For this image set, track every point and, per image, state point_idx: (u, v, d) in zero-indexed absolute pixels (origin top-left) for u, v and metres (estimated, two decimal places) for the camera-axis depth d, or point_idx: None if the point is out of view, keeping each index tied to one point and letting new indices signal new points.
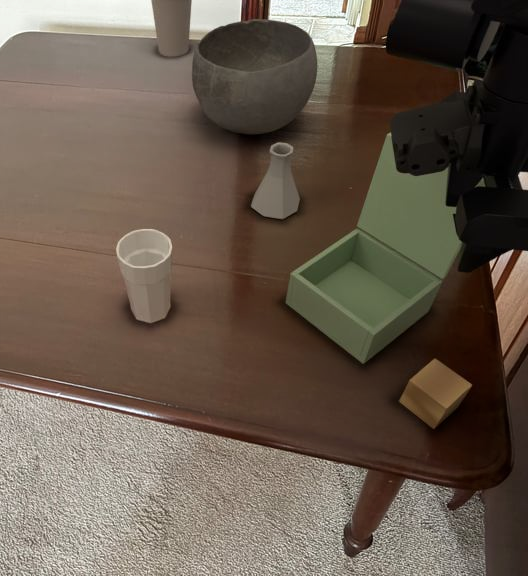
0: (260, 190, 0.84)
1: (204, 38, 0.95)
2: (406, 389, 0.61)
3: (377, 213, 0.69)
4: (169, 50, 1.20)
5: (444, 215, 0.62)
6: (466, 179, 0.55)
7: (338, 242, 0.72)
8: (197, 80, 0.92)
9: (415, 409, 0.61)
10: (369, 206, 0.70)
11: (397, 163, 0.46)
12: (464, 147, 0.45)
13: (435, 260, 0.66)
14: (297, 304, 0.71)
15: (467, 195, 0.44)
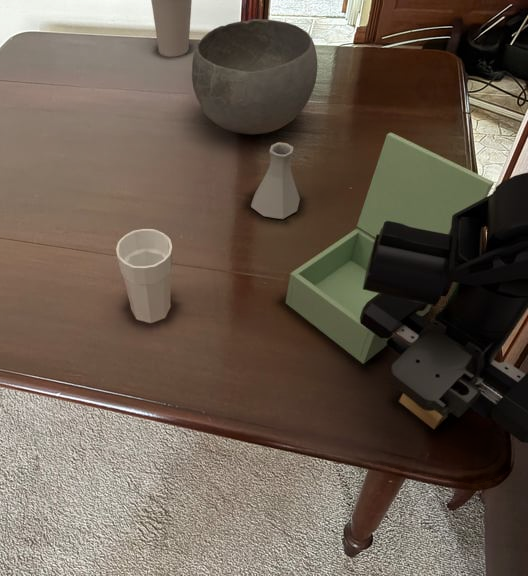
0: (260, 190, 0.84)
1: (204, 38, 0.95)
2: None
3: (377, 213, 0.69)
4: (169, 50, 1.20)
5: (444, 215, 0.62)
6: None
7: (338, 242, 0.72)
8: (197, 79, 0.92)
9: (415, 409, 0.61)
10: (369, 206, 0.70)
11: (443, 415, 0.49)
12: (473, 371, 0.50)
13: None
14: (297, 304, 0.71)
15: (502, 406, 0.50)
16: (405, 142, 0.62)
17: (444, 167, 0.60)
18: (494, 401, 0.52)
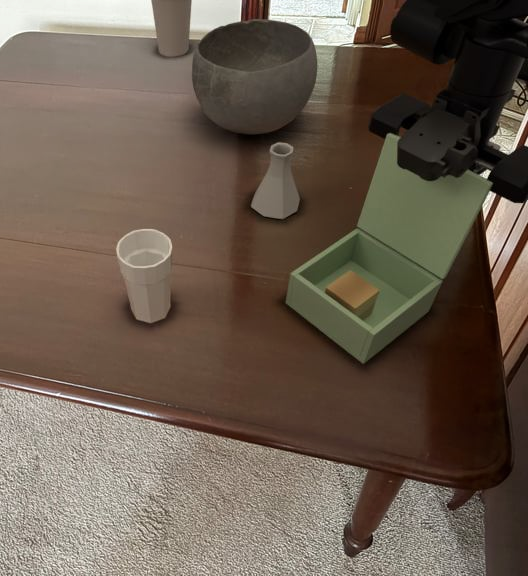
0: (260, 190, 0.84)
1: (204, 38, 0.95)
2: None
3: (377, 213, 0.69)
4: (169, 50, 1.20)
5: (444, 216, 0.62)
6: None
7: (338, 242, 0.72)
8: (197, 80, 0.92)
9: None
10: (369, 206, 0.70)
11: (444, 175, 0.55)
12: (470, 141, 0.56)
13: (435, 260, 0.66)
14: (297, 304, 0.71)
15: (497, 171, 0.56)
16: None
17: None
18: (470, 167, 0.60)
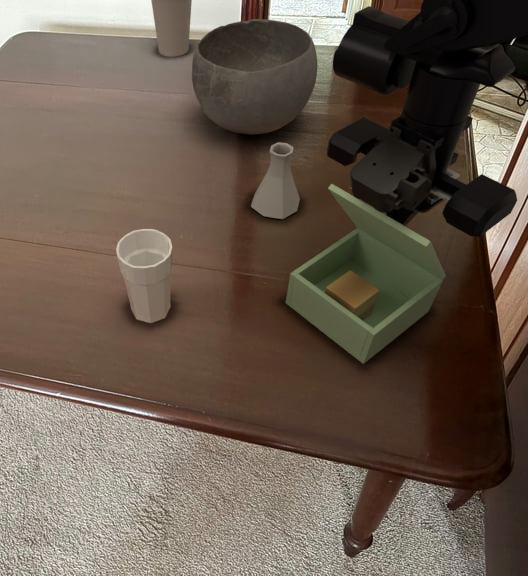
0: (260, 190, 0.84)
1: (204, 38, 0.95)
2: None
3: (363, 227, 0.69)
4: (169, 50, 1.20)
5: (410, 249, 0.62)
6: None
7: (338, 242, 0.72)
8: (197, 80, 0.92)
9: None
10: (354, 221, 0.70)
11: (397, 207, 0.53)
12: (426, 171, 0.54)
13: (427, 268, 0.66)
14: (297, 304, 0.71)
15: (453, 203, 0.54)
16: (345, 197, 0.61)
17: (385, 223, 0.59)
18: (428, 196, 0.57)
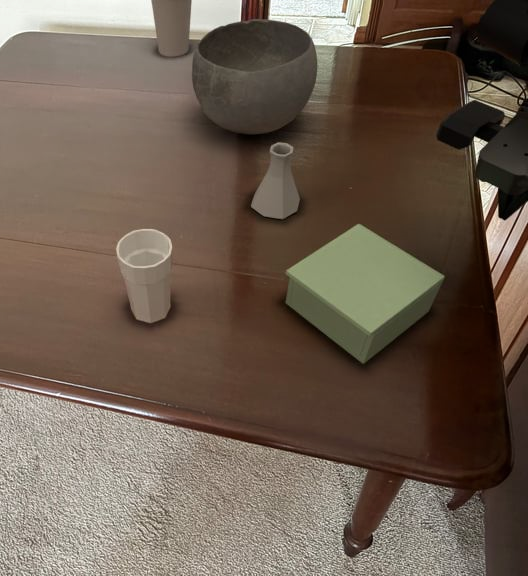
0: (260, 190, 0.84)
1: (204, 38, 0.95)
2: None
3: None
4: (169, 50, 1.20)
5: None
6: None
7: None
8: (197, 79, 0.92)
9: None
10: None
11: None
12: None
13: None
14: (297, 304, 0.71)
15: None
16: (300, 284, 0.67)
17: None
18: None
